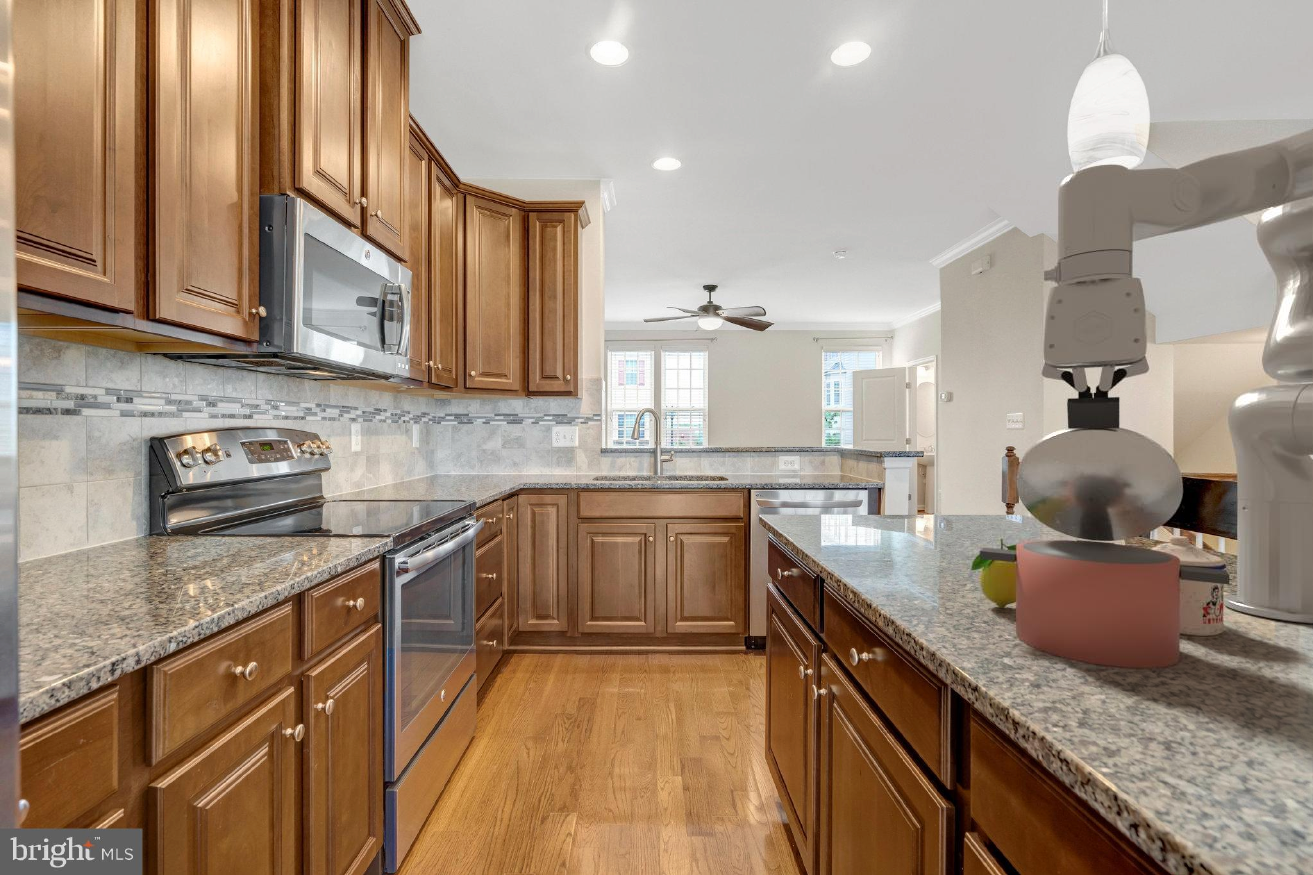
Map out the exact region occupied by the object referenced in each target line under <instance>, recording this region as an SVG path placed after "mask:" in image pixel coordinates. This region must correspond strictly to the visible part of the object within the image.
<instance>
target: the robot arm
mask: <svg viewBox="0 0 1313 875" xmlns="http://www.w3.org/2000/svg"><path fill="white" fill-rule="evenodd" d="M1057 194H1058V196H1057V201H1058V202H1057V262H1056V263H1057V264H1056V265H1055V266H1054V268H1051V269H1049V270H1044V271H1043V281H1044V282H1052V283H1053V282H1054V283H1055V284H1057V286H1053V287H1051V288H1050V290H1049V294H1048V297H1047V303H1046V309H1045V320H1044V330H1043V332H1044V333H1043V360H1044V362H1043V363H1044V364H1043V367H1042V370H1041V375H1042V377H1043V378H1045V379H1050V380H1051V379H1052V380H1057V381H1063V382H1065V383H1066V384H1068V385H1069V386H1070V387H1071V388H1072V389H1074V390H1075V391H1076V392H1077V398H1104V397H1109V392H1110V391H1111V390H1112V389H1113V388H1114V387H1116V386H1117V385H1118V384H1119V383H1120V382H1121V381H1123V380H1124V379H1126V378H1131V377H1132V378H1133V377H1136V376H1140V375H1145V374H1147V373H1148V372H1149V370H1150V366H1149V363H1148V360H1147V356H1146V354H1147V348H1148V346H1147V345H1148V334H1147V331H1148V330H1147V314H1146V312H1147V311H1146V300H1145V294H1144V289H1143V285H1142V281H1141V278H1139V277H1133V267H1134V266H1133V264H1134V263H1133V261H1134V260H1133V259H1134V258H1133V256H1134V254H1133V249H1134V246H1133V244H1134V242H1137V241H1142V240H1146V239H1149V238H1155V237H1157V236H1163V235H1167V234H1172V233H1173V234H1174V233H1179V232H1183V231H1184V232H1185V231H1189V230H1194V229H1199V228H1202V227H1206V226H1209V225H1213V224H1217V223H1220V222H1224V221H1228V220H1232V219H1236V218H1238V217H1243V216H1245V215H1250V214H1255V213H1258V212H1262V211H1264V212H1263V213H1262V215H1260V217H1259V219H1258V221H1257V224H1256V230H1255V232H1256V240H1257V243H1258V245H1259V248H1260V249H1261V251H1262V252H1263V255H1264V257H1265V258H1266V261H1268V264H1269V266H1270V267H1271V269H1272V271H1273V273H1274V276H1275V277H1276V279H1277V282H1278V287H1279V288H1278V289H1279V294H1278V299H1277V302H1276V303H1277V304H1276V307H1275V310H1274V313H1273V317H1272V320H1271V322H1270V326H1269V329H1268V333H1267V336H1266V339H1265V342H1264V343H1265V344H1264V347H1263V352H1262V356H1261V364H1262V368H1263V371H1264V372H1265V374H1266V375H1267V376H1268V377H1270V378H1271V379H1274V380H1276V381H1278V382H1279V381H1280V382H1285V383H1295V384H1278V385H1277V384H1276V385H1268V386H1263V387H1259V388H1257V387H1256V388H1253V389H1250V390H1248V391H1246V392H1243V393H1242V394H1240V395H1239V396H1237V397H1236V398H1235V399H1234V400H1233V402H1232V403H1231V404H1230V407H1229V409H1228V414H1227V424H1228V428H1229V434H1230V438H1231V441H1232V442H1231V443H1232V445H1233V450H1234V456H1235V460H1236V461H1235V463H1236V478H1237V480H1236V482H1237V487H1236V488H1237V489H1236V490H1237V497H1236V498H1237V515H1236V516H1237V521H1236V522H1237V524H1236V525H1237V530H1236V531H1237V534H1236V535H1237V545H1236V546H1237V547H1236V551H1237V558H1236V560H1237V563H1236V570H1237V571H1236V576H1237V577H1236V579H1237V580H1236V583H1237V585H1236V586H1237V587H1236V592H1228V593H1224V596H1223V606H1224V605H1225V606H1226V607H1227V608H1229V609H1232V610H1235V611H1238V612H1242V613H1245V614H1249V615H1252V616H1257V617H1262V618H1268V619H1272V620H1280V621H1287V622H1293V623H1305V624H1313V458H1312V457H1311V456H1313V128H1311V129H1308V130H1306V131H1303V132H1300V133H1297V134H1293V135H1291V136H1289V137H1285V138H1283V139H1280V140H1276V141H1273V142H1269V143H1267V144H1264V145H1263V144H1262V145H1259V146H1254V147H1250V148H1245V149H1242V150H1237V151H1232V152H1227V153H1223V154H1217V155H1214V156H1209V157H1206V158H1204V159H1201V160H1198V161H1195V162H1192V163H1189V164H1187V165H1183V166H1182V167H1179V168H1174V167H1173V168H1172V167H1158V168H1157V167H1156V168H1143V169H1141V168H1140V169H1129V168H1128V167H1126V166H1124V165H1121V164H1111V163H1110V164H1099V165H1094V166H1090V167H1086V168H1083V169H1080V170H1078V171H1075V172H1073V173H1071V174H1069V175H1068V176H1066V177H1065V178H1064V179H1063V180H1062V182H1061V183H1060V186H1059V188H1058V193H1057ZM1116 367H1118V368H1117V369H1116ZM1119 367H1120V368H1119ZM1092 368H1094V369H1095V368H1101V373H1100V377H1099V384H1098V385H1097V386H1095V392H1092V391H1091V390H1092V389H1091V386H1089V385H1088V380H1087V375H1086V370H1085V369H1092ZM1067 369H1068V370H1067ZM1069 369H1070V370H1071V371H1070V370H1069Z"/></svg>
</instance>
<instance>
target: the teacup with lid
mask: <svg viewBox="0 0 1313 875" xmlns="http://www.w3.org/2000/svg"><path fill="white" fill-rule="evenodd" d="M1168 540H1169V542H1167V543H1160V544H1158V545H1156V546H1154V547H1152V548H1150V549H1152V550H1157V551H1161V552H1165V553H1169V554H1172V555H1174V556H1176V557H1178V558H1179V559H1180V566H1187V567H1197V568H1208V569H1219V570H1226V568H1227V564H1226V562H1225V560H1223V558H1221V557H1219V556H1217V555H1214V554H1210V553H1208V552H1206V551H1204V550H1203V549H1202V548H1200V547H1197V546H1195V545H1191V544H1190V538H1188V537H1187V536H1183V535H1182V536H1181V535H1171V536H1169V539H1168ZM1224 585H1225V584H1219V583H1210V582H1200V581H1190V580H1181V579H1180V634H1181V635H1188V636H1199V637H1200V636H1201V637H1203V636H1205V637H1209V636H1217V635H1221V634H1222V633H1223V632H1224V604H1223V596H1224V595H1225V593H1224V591H1225V590H1224V588H1225V587H1224Z"/></svg>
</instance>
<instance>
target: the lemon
mask: <svg viewBox="0 0 1313 875" xmlns="http://www.w3.org/2000/svg"><path fill="white" fill-rule="evenodd" d="M1016 545H1017V544H1013V545H1005V544H1004V542H1003V538H1000V549H1004V547H1005V548H1006V550H1016ZM980 569H981V572H980V577H979V578H980V587H981V591H982V592H983V593H982V594H983V595H984V596H985V597H986V598H987V599H988V600H989V601H991V602H993V603H995V604H996V605H997V607H998V608H1000V609H1004V608H1005V607H1007V606H1008V605H1012V604H1014V603H1015V604H1016V562H1007V561H997V560H987V559H980V553H979V554H977V555H976V556H975V558H974V559H973V561H972V564H971V569H970V571H976V570H977V571H978V570H980Z"/></svg>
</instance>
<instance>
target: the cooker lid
mask: <svg viewBox="0 0 1313 875" xmlns="http://www.w3.org/2000/svg"><path fill="white" fill-rule="evenodd" d="M1066 404H1067V406H1066V410H1067V411H1066V412H1067V428H1063V429H1059V430H1057V431H1054V432H1052V433H1050V434H1047V435H1046V436H1043V437H1042V438H1040V439H1039V440H1037V441H1036V442H1035V443H1034V444H1032V445H1031V446H1030V447H1029V448H1028V450H1027V451H1026V452H1025V453H1024V454H1023V456H1022V458H1021V460H1020V463H1019V464H1018V469H1017V474H1016V490H1017V493H1018V497H1019V499H1020V501H1021V502H1022V504H1023V506H1024V507H1025V509H1026V510H1027V511H1028V512H1029V513H1030V514H1031V515H1032V516H1033V518H1035V519H1036V520H1038V521H1039V522H1040V523H1041V524H1042V525H1045V526H1046V527H1047V528H1050V529H1052V530H1054V531H1056V532H1058V533H1060V534H1061V533H1062V534H1064V535H1067V536H1069V537H1072V538H1076V539H1081V540H1085V541H1094V542H1112V541H1113V542H1114V541H1124V540H1131V539H1134V538H1137V537H1141V536H1144V535H1146V534H1148V533H1151V532H1154V531H1155V530H1157V529H1158V528H1160V527H1161V526H1163V525H1164V524H1165V523H1167V522H1168V521H1169V520H1170V519H1171V518H1172V517H1173V516H1174V514H1176V512H1177V510H1178V509H1179V507H1180V506H1181V505H1180V504H1181V502H1182V499H1183V494H1184V487H1183V486H1184V483H1183V477H1182V472H1181V470H1180V467H1179V466H1178V463H1177V461H1176V460H1175V459H1174V457H1173V456H1172V454H1171V453H1169V451H1168V450H1167V449H1166V448H1164V447H1163V446H1161V444H1159V443H1158V442H1156V441H1155V440H1153V439H1151V438H1150V437H1148V436H1147V435H1146V436H1145V435H1144V434H1141V433H1139V432H1137V431H1133V430H1130V429H1128V428H1127V429H1126V428H1122V427H1120V396H1116V397H1115V396H1110V397H1109V396H1108V397H1104V398H1094V397H1093V398H1078V397H1077V398H1076V397H1074V398H1073V397H1072V398H1067V401H1066Z"/></svg>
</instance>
